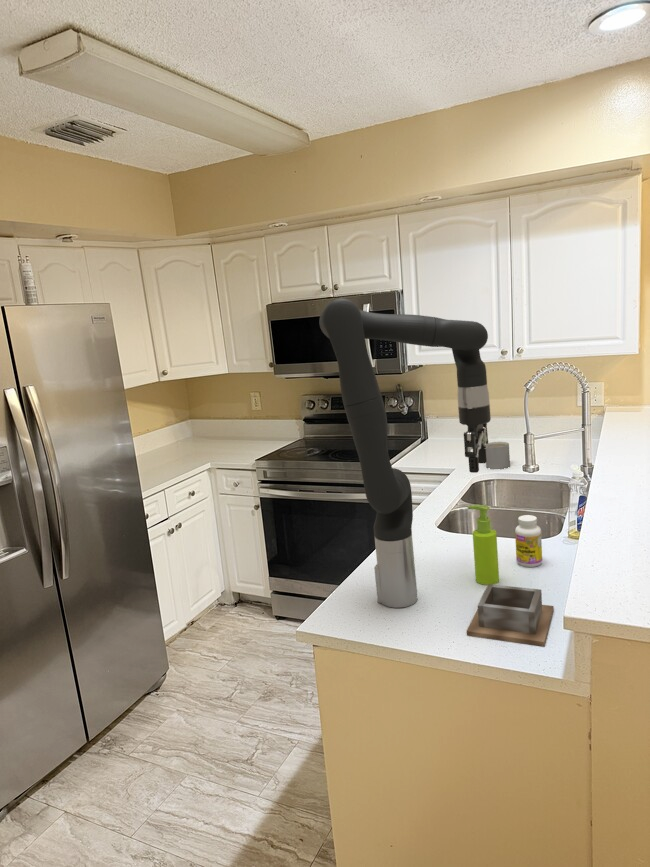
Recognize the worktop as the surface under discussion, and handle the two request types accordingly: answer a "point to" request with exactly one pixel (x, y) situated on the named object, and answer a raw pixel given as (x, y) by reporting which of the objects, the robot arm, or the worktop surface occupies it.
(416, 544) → the worktop surface
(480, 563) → the soap dispenser
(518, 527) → the supplement bottle
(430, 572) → the worktop surface
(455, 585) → the worktop surface
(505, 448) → the coffee mug
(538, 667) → the worktop surface
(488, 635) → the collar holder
